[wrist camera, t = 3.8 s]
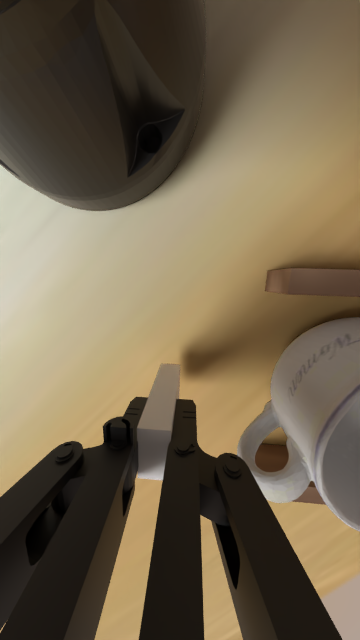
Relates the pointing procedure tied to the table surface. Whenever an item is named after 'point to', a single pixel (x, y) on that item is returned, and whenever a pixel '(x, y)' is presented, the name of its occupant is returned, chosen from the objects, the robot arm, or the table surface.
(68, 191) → the robot arm
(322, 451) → the teacup
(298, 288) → the brown parallel rails
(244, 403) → the table surface
